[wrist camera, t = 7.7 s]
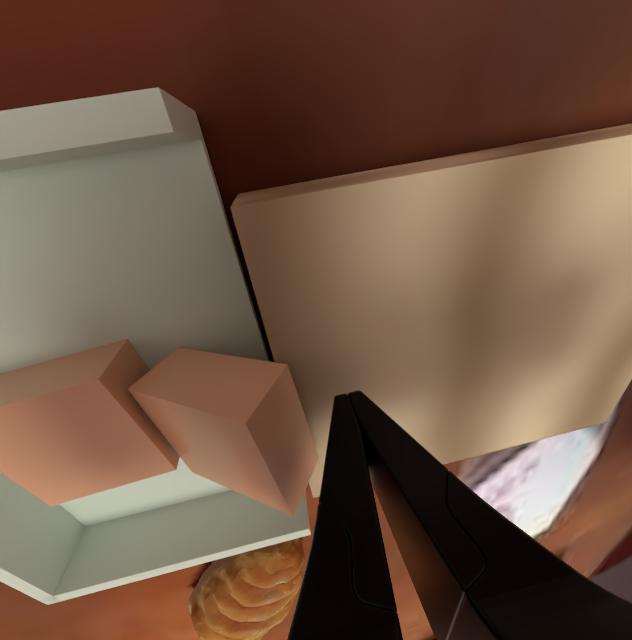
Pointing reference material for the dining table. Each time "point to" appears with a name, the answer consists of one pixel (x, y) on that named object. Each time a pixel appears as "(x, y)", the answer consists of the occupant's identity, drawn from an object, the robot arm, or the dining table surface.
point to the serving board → (454, 290)
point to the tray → (120, 325)
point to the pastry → (247, 592)
